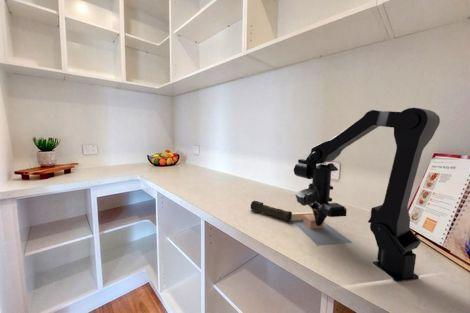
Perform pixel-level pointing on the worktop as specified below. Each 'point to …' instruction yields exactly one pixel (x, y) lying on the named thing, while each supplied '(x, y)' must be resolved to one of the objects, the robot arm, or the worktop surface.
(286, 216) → the hand tool
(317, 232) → the slate mat
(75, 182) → the worktop surface
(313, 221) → the salmon brown block
